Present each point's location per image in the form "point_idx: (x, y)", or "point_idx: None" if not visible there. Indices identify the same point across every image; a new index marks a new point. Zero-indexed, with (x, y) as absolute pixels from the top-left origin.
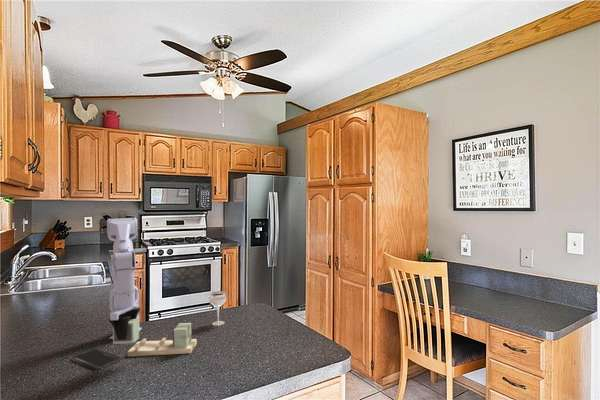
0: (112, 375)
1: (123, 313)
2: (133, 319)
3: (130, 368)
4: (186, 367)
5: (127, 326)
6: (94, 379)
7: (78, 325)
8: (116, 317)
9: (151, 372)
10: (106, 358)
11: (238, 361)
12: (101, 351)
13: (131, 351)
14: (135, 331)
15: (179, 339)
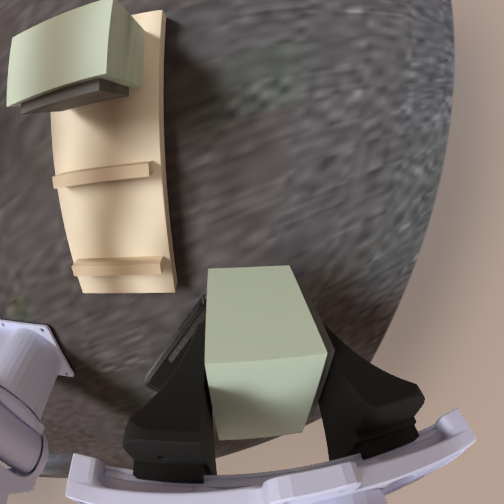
0: (327, 263)
1: (338, 461)
2: (222, 386)
3: (285, 224)
4: (308, 6)
5: (335, 361)
6: (338, 301)
7: (50, 429)
8: (464, 421)
9: (334, 127)
10: None
11: None
12: (157, 367)
13: (172, 278)
14: (267, 302)
15: (130, 52)
